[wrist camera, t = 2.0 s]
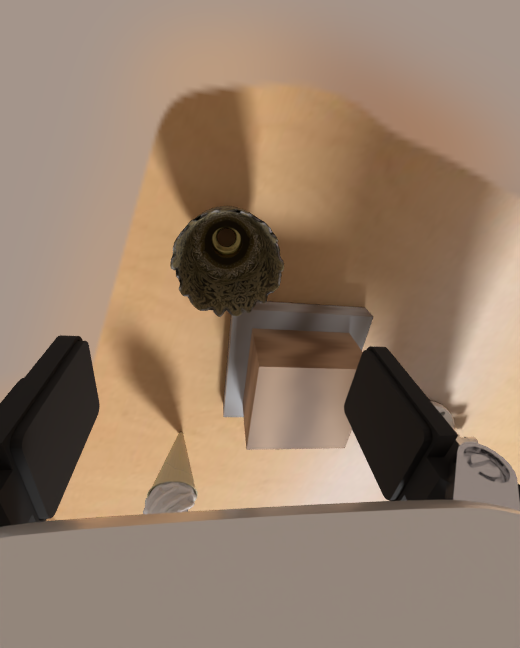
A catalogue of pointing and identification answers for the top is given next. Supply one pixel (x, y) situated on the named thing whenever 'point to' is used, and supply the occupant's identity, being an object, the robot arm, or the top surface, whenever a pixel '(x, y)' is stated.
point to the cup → (227, 261)
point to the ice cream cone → (173, 483)
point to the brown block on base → (294, 373)
